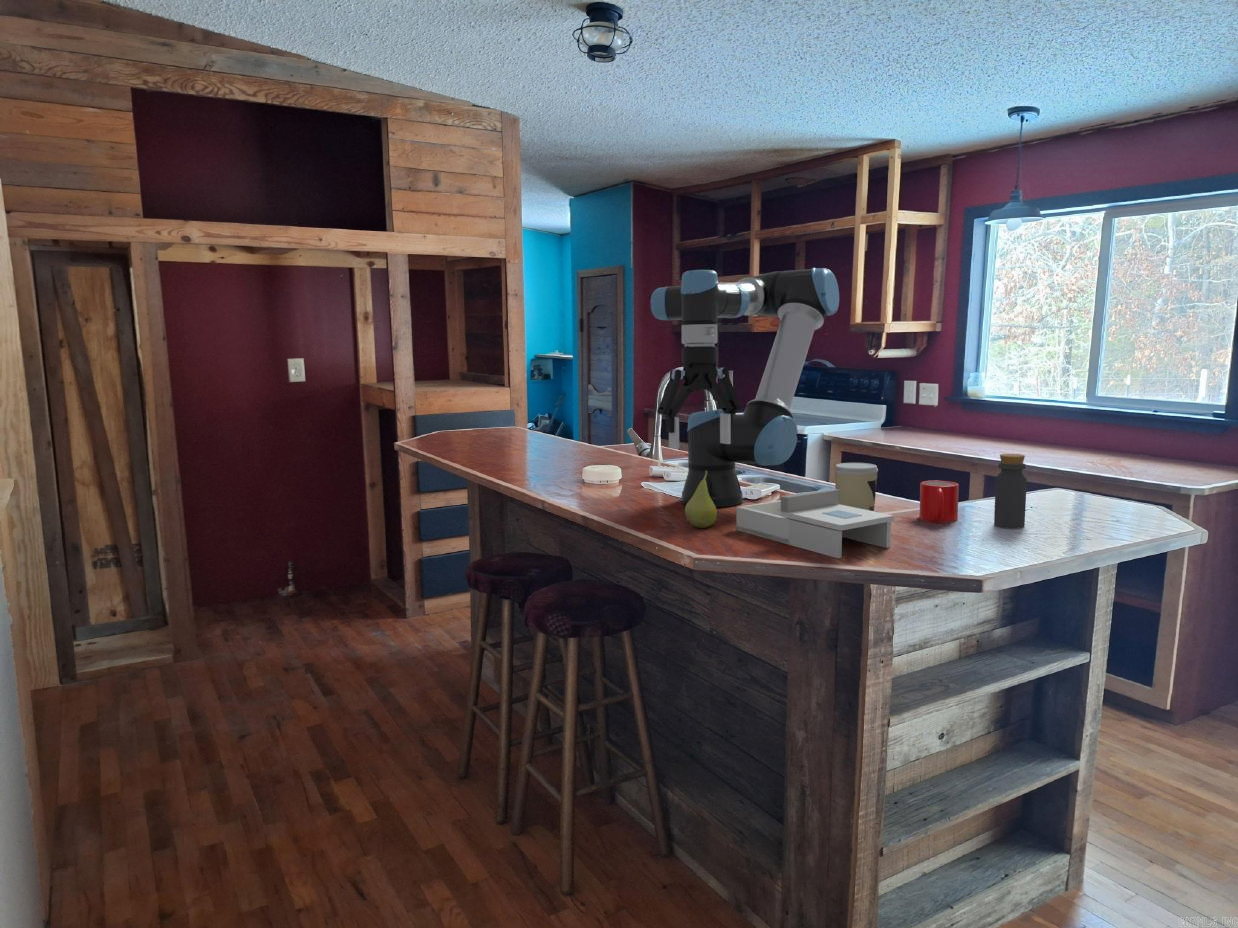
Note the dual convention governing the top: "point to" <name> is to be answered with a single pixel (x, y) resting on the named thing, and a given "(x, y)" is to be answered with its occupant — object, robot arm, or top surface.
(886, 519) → the lid
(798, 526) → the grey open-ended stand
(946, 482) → the mug
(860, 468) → the coffee cup
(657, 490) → the top surface
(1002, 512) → the bottle
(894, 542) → the top surface
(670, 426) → the robot arm
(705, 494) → the fruit
